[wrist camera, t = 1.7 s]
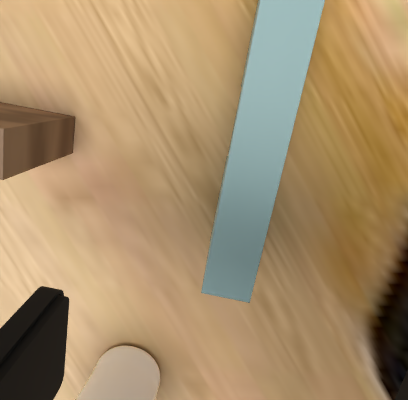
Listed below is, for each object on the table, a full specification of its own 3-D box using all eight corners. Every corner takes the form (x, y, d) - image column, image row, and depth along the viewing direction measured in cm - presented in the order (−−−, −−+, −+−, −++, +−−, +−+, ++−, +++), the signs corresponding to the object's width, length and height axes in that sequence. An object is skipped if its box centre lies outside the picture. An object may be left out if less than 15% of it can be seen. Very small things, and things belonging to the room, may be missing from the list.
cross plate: (260, -14, 22) (274, -70, 14) (302, -6, 22) (339, -58, 14) (211, 234, 26) (201, 292, 19) (245, 240, 26) (249, 302, 19)
